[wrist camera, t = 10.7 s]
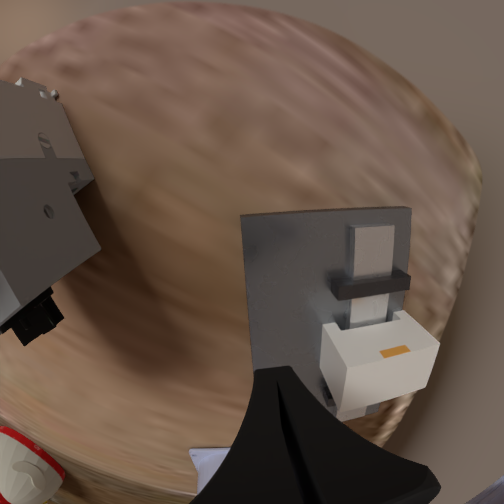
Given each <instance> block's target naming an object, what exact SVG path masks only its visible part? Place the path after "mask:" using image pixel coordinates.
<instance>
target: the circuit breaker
mask: <svg viewBox="0 0 504 504" xmlns="http://www.w3.org/2000/svg"><path fill="white" fill-rule="evenodd" d="M39 91H40V93H39ZM40 94H41V96H40ZM57 95H58V92H57V90H53V91H52V92H51V93H50V92H48V91H47V88H46V86H44V85H41V84H38V83H36V82H33V81H30V80H27V79H25V78H22V77H21V78H20V79H19V80H18V81H17V82H16V83H15V84H13V83H9V82H6V81H2V80H0V335H1V334H3V333H5V332H6V331H7V330H8V329H10V328H12V330H13V331H14V333H15V334H16V336H17V337H18V339H19V340H20V341H21V343H22V344H23V346H26V345H27V344H28V343H30V342H31V341H32V340H34V339H35V338H37V337H38V336H40V335H41V334H42V333H43V335H44V334H46V333H47V332H49V331H50V330H52V329H54V328H55V327H56V325H57V324H58V323H59V322H60V321H61V320H63V319H64V316H63V315H62V313H61V312H60V310H59V309H58V307H57V306H56V304H55V302H54V301H53V299H52V298H51V295H52V294H53V290H52V288H51V285H53V284H54V283H55V282H57V281H58V280H59V279H61V278H62V277H63V276H65V275H66V274H67V273H69V272H70V271H72V270H73V269H74V268H76V267H77V266H79V265H80V264H81V263H83V262H84V261H86V260H87V259H88V258H90V257H91V256H93V255H94V254H96V253H97V252H99V251H100V250H101V247H100V245H99V243H98V241H97V240H96V238H95V236H94V234H93V232H92V231H91V229H90V227H89V225H88V223H87V221H86V219H85V217H84V215H83V213H82V212H81V210H80V208H79V206H78V204H77V202H76V199H75V197H74V194H76V193H77V192H78V191H79V190H81V189H82V188H83V187H84V186H86V185H87V184H88V183H90V182H91V181H92V180H94V176H93V174H92V172H91V170H90V168H89V166H88V164H87V162H86V160H85V158H84V155H83V153H82V151H81V149H80V147H79V144H78V142H77V140H76V137H75V135H74V133H73V130H72V128H71V126H70V123H69V121H68V118H67V116H66V113H65V111H64V108H63V106H62V103H60V102H57V101H56V100H55V97H56V96H57Z"/></svg>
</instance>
